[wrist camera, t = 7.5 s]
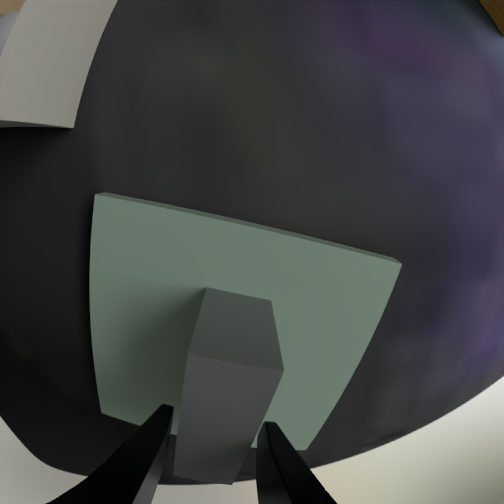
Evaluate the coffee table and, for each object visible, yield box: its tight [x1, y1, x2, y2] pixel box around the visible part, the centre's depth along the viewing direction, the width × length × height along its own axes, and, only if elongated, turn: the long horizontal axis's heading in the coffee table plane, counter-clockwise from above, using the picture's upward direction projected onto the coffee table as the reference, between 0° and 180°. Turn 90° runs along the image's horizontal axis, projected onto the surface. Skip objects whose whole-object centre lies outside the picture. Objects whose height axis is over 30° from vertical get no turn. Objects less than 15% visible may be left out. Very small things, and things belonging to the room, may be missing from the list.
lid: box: [90, 192, 402, 485], centre depth 10 cm, size 12×12×6 cm
